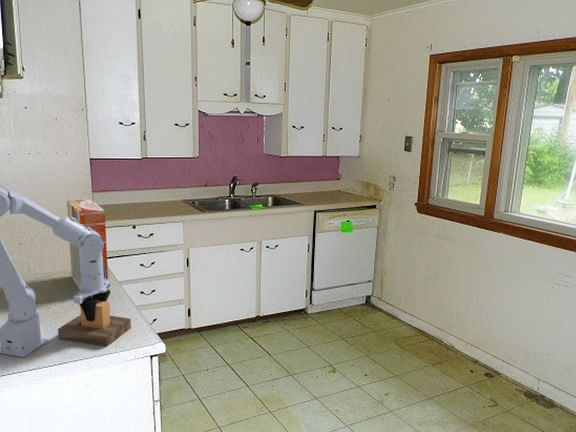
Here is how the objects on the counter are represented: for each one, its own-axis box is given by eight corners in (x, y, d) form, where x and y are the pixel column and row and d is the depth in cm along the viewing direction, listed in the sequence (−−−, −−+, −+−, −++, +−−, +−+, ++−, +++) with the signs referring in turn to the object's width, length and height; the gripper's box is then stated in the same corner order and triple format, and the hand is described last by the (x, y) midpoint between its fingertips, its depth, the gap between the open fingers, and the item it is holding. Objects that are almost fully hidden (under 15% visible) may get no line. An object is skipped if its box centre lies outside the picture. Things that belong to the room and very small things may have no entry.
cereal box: (108, 292, 164) (104, 210, 158) (84, 297, 160) (79, 212, 153) (93, 273, 183) (89, 199, 176) (71, 276, 178) (66, 200, 172)
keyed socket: (107, 346, 127) (106, 336, 127) (58, 338, 131) (57, 328, 130) (131, 327, 139) (130, 318, 138) (85, 320, 142) (85, 311, 142)
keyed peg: (103, 332, 132) (102, 306, 130) (81, 329, 134) (80, 303, 132) (110, 327, 135) (109, 302, 134) (89, 324, 137) (88, 299, 135)
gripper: (88, 283, 123) (91, 330, 126) (119, 266, 137) (121, 309, 140) (65, 280, 125) (68, 326, 128) (98, 264, 138) (100, 306, 141)
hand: (95, 317), depth 134 cm, fingers open, 4 cm apart
